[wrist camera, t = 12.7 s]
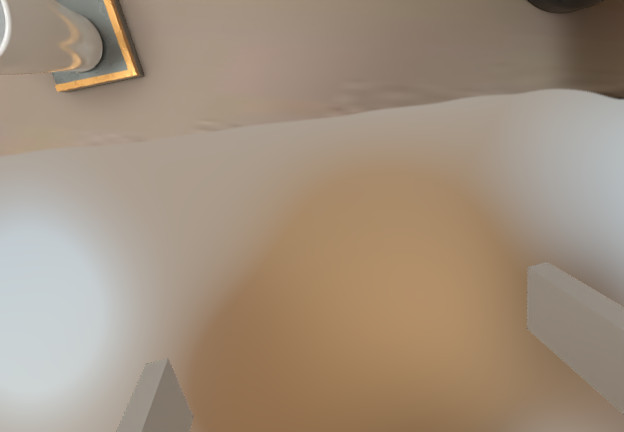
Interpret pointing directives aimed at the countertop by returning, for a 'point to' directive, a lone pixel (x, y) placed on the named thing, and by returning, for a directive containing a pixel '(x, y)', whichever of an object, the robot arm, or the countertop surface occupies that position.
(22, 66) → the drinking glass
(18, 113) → the countertop surface
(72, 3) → the square coaster
